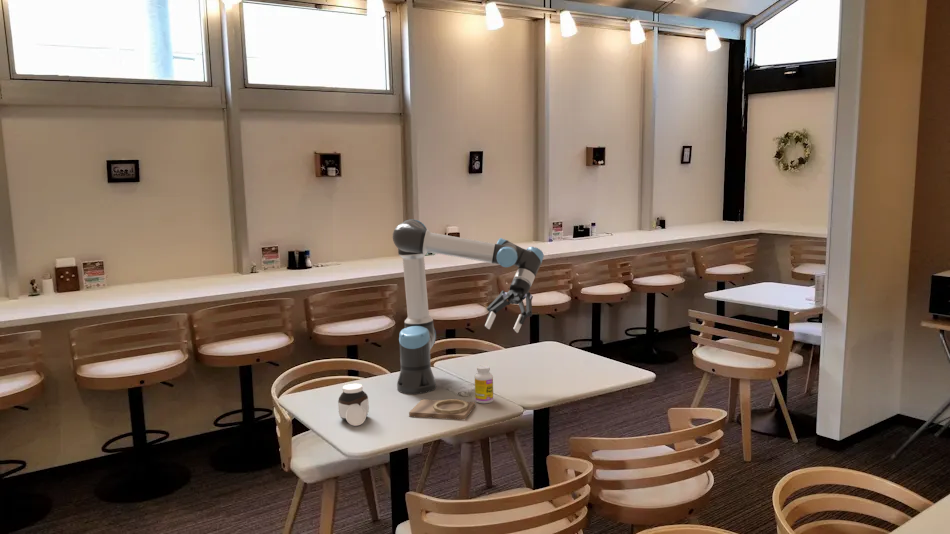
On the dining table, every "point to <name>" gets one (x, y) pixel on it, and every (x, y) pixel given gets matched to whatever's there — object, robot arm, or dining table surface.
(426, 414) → the seat board
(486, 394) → the supplement bottle
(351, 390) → the spread jar
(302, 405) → the dining table surface
